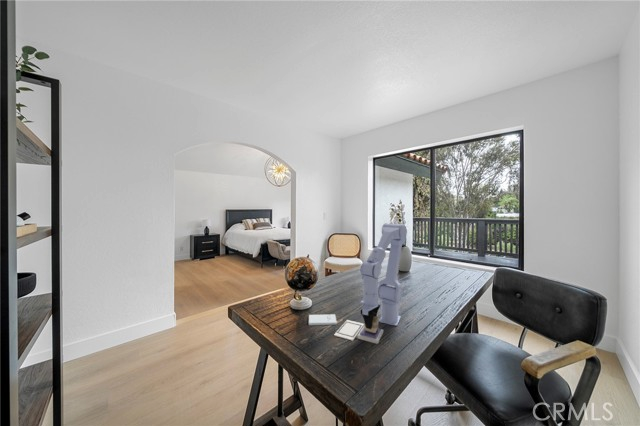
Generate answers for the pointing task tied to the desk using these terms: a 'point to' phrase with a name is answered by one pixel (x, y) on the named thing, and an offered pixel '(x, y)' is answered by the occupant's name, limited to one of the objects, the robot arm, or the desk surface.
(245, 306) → the desk surface
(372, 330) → the stamp
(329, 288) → the desk surface
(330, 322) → the external hard drive
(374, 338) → the ink pad
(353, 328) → the print card
